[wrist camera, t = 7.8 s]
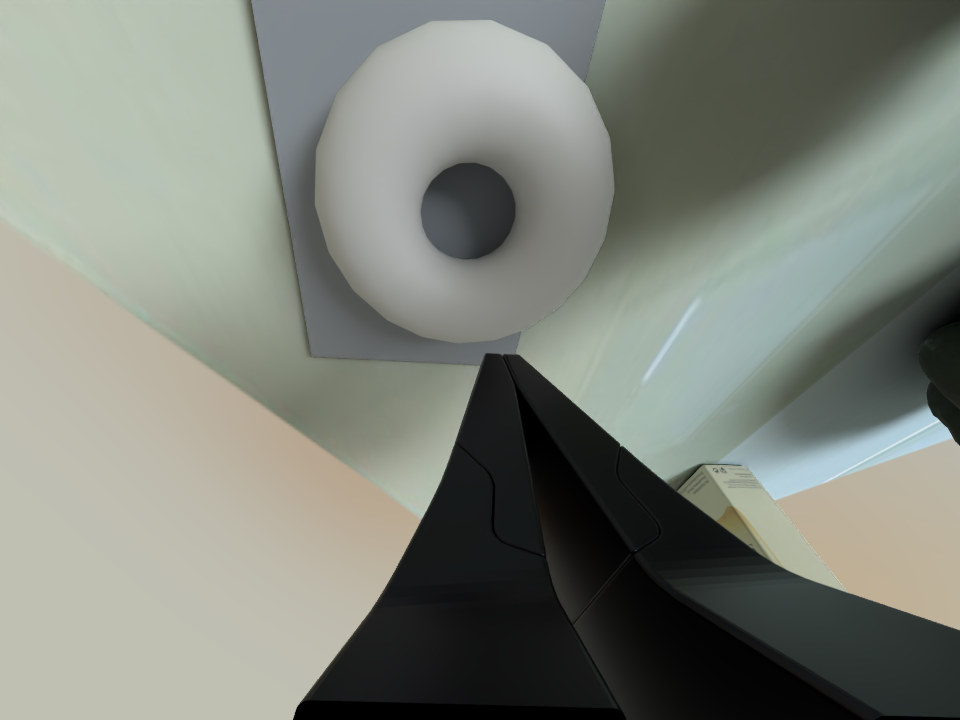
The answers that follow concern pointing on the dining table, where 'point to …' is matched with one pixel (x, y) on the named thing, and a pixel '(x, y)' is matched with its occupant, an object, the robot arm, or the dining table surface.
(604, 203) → the donut
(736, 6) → the dining table surface
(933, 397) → the squash
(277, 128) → the mat
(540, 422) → the robot arm
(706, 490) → the skincare box
